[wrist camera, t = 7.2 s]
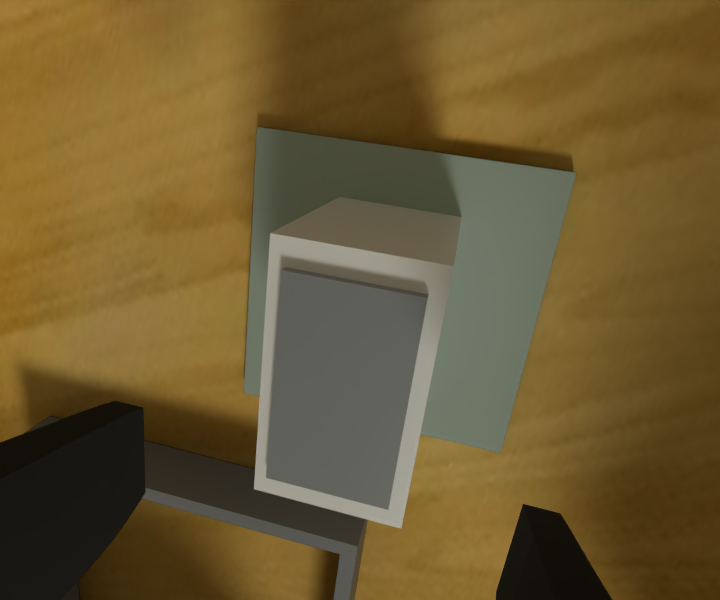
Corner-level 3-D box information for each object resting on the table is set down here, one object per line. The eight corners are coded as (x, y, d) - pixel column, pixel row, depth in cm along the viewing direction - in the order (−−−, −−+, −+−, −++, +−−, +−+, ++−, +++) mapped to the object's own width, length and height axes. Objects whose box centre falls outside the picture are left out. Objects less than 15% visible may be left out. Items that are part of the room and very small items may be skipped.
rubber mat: (574, 171, 15) (576, 172, 15) (500, 446, 19) (500, 453, 18) (261, 126, 17) (256, 127, 16) (248, 387, 20) (244, 392, 20)
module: (461, 216, 16) (453, 269, 10) (423, 406, 18) (399, 535, 12) (339, 196, 16) (265, 235, 11) (319, 382, 19) (249, 495, 13)
